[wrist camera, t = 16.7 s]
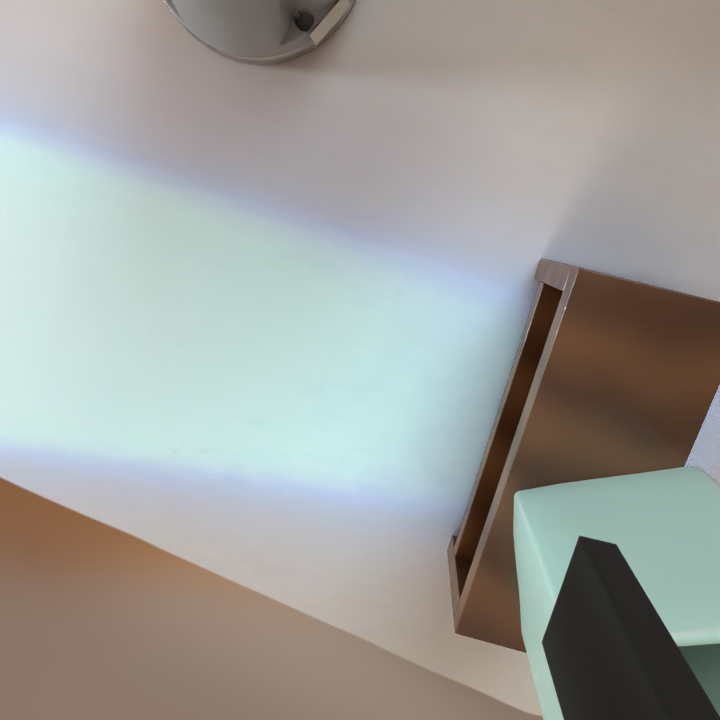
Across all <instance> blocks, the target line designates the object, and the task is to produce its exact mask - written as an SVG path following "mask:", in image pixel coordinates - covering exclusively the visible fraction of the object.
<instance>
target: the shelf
mask: <svg viewBox="0 0 720 720" xmlns="http://www.w3.org/2000/svg"><path fill="white" fill-rule="evenodd" d="M535 279H536V280H539V281H541V282H540V283H539V286H538V289H537V292H536V295H535V298H534V302H533V305H532V308H531V311H530V314H529V317H528V320H527V323H526V326H525V329H524V333H523V336H522V339H521V342H520V345H519V348H518V351H517V354H516V357H515V360H514V364H513V367H512V370H511V373H510V376H509V379H508V382H507V385H506V388H505V391H504V395H503V398H502V401H501V404H500V407H499V410H498V413H497V416H496V419H495V422H494V426H493V429H492V432H491V435H490V438H489V441H488V444H487V447H486V450H485V453H484V457H483V460H482V463H481V466H480V469H479V472H478V475H477V478H476V481H475V484H474V488H473V491H472V494H471V497H470V500H469V503H468V506H467V509H466V512H465V515H464V519H463V522H462V525H461V528H460V531H459V534H458V537H455V536H452V538H451V541H450V544H449V547H448V550H447V552H448V562H449V573H450V584H451V595H452V605H453V616H454V626H455V633H456V634H460V635H464V636H467V637H471V638H474V639H478V640H482V641H485V642H489V643H493V644H496V645H500V646H503V647H507V648H511V649H514V650H518V651H522V652H525V653H527V652H526V648H525V644H524V641H523V637H522V631H521V614H520V597H519V586H518V578H517V569H516V559H515V547H514V536H513V519H514V495H515V493H516V492H518V491H522V490H527V489H533V488H538V487H544V486H549V485H555V484H560V483H568V482H575V481H583V480H590V479H598V478H606V477H613V476H621V475H629V474H636V473H644V472H651V471H658V470H665V469H672V468H678V467H684V465H685V463H686V461H687V458H688V456H689V454H690V451H691V449H692V447H693V445H694V442H695V440H696V438H697V435H698V433H699V431H700V428H701V426H702V424H703V421H704V419H705V417H706V414H707V412H708V410H709V407H710V405H711V403H712V400H713V398H714V396H715V393H716V391H717V389H718V386H719V384H720V302H718V301H714V300H710V299H706V298H701V297H697V296H693V295H689V294H685V293H681V292H677V291H673V290H669V289H665V288H661V287H657V286H653V285H649V284H645V283H640V282H636V281H632V280H628V279H624V278H620V277H616V276H612V275H608V274H604V273H600V272H596V271H592V270H587V269H583V268H579V267H575V266H571V265H567V264H563V263H559V262H555V261H551V260H547V259H543V258H541V259H540V262H539V266H538V269H537V272H536V275H535Z"/></svg>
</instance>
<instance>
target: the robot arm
mask: <svg viewBox="0 0 720 720" xmlns="http://www.w3.org/2000/svg"><path fill="white" fill-rule="evenodd" d="M164 1H165V3H166V5H167V6H168V8H169V9H170V11H171V12H172V14H173V15H174V16H175V17H176V19H177V20H178V21H179V22H180V23H181V24H182V25H183V26H184V27H185V28H186V30H187V31H189V32H190V33H191V34H192V35H193V36H194V37H196V38H197V39H198V40H199V41H200V42H202V43H203V44H204V45H205V46H207V47H208V48H210V49H211V50H213V51H214V52H216V53H218V54H220V55H222V56H224V57H227V58H229V59H231V60H235V61H238V62H242V63H248V64H257V65H267V64H276V63H282V62H286V61H290V60H293V59H295V58H298V57H300V56H302V55H304V54H306V53H308V52H310V51H311V50H313V49H315V48H316V47H318V46H319V45H320V44H321V43H323V42H324V41H325V40H326V39H328V38H329V37H330V36H331V35H332V34H333V33H334V32H335V31H336V29H337V28H338V27H339V26H340V25H341V23H342V22H343V21H344V19H345V18H346V16H347V15H348V13H349V12H350V10H351V8H352V6H353V5H354V3H355V1H356V0H164ZM542 645H543V649H544V652H545V656H546V659H547V663H548V666H549V670H550V673H551V677H552V680H553V684H554V687H555V691H556V694H557V698H558V701H559V705H560V708H561V712H562V715H563V719H564V720H720V716H719V715H718V713H717V711H716V710H715V708H714V706H713V705H712V703H711V701H710V700H709V698H708V696H707V695H706V693H705V691H704V690H703V688H702V686H701V685H700V683H699V681H698V680H697V678H696V676H695V675H694V673H693V671H692V669H691V668H690V666H689V664H688V663H687V661H686V659H685V658H684V656H683V654H682V653H681V651H680V649H679V648H678V646H677V644H676V643H675V641H674V639H673V638H672V636H671V634H670V633H669V631H668V629H667V628H666V626H665V624H664V623H663V621H662V619H661V618H660V616H659V614H658V613H657V611H656V609H655V608H654V606H653V604H652V603H651V601H650V599H649V598H648V596H647V594H646V593H645V591H644V589H643V588H642V586H641V584H640V583H639V581H638V579H637V578H636V576H635V574H634V573H633V571H632V569H631V568H630V566H629V564H628V563H627V561H626V559H625V558H624V556H623V554H622V553H621V551H620V549H619V548H618V546H617V544H614V543H610V542H605V541H601V540H597V539H592V538H588V537H584V536H579V538H578V540H577V543H576V546H575V549H574V552H573V555H572V557H571V560H570V563H569V566H568V569H567V572H566V574H565V577H564V580H563V583H562V586H561V589H560V591H559V594H558V597H557V600H556V603H555V606H554V608H553V611H552V614H551V617H550V620H549V623H548V625H547V628H546V631H545V634H544V637H543V640H542Z"/></svg>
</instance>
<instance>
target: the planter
mask: <svg viewBox="0 0 720 720" xmlns="http://www.w3.org/2000/svg"><path fill="white" fill-rule="evenodd" d="M513 536H514V547H515V559H516V569H517V578H518V586H519V597H520V614H521V631H522V637H523V641H524V644H525V648H526V652H527V656H528V660H529V664H530V668H531V672H532V676H533V680H534V684H535V688H536V691H537V695H538V699H539V703H540V707H541V711H542V715H543V719H544V720H564V719H563V715H562V712H561V708H560V705H559V701H558V698H557V694H556V691H555V687H554V684H553V680H552V677H551V673H550V670H549V666H548V663H547V659H546V656H545V652H544V649H543V645H542V640H543V637H544V634H545V631H546V628H547V625H548V623H549V620H550V617H551V614H552V611H553V608H554V606H555V603H556V600H557V597H558V594H559V591H560V589H561V586H562V583H563V580H564V577H565V574H566V572H567V569H568V566H569V563H570V560H571V557H572V555H573V552H574V549H575V546H576V543H577V540H578V538H579V536H584V537H588V538H592V539H597V540H601V541H605V542H610V543H614V544H617V546H618V548H619V549H620V551H621V553H622V554H623V556H624V558H625V559H626V561H627V563H628V564H629V566H630V568H631V569H632V571H633V573H634V574H635V576H636V578H637V579H638V581H639V583H640V584H641V586H642V588H643V589H644V591H645V593H646V594H647V596H648V598H649V599H650V601H651V603H652V604H653V606H654V608H655V609H656V611H657V613H658V614H659V616H660V618H661V619H662V621H663V623H664V624H665V626H666V628H667V629H668V631H669V633H670V634H671V636H672V638H673V639H674V641H675V643H676V644H677V646H678V648H679V649H680V651H681V653H682V654H683V656H684V658H685V659H686V661H687V663H688V664H689V666H690V668H691V669H692V671H693V673H694V675H695V676H696V678H697V680H698V681H699V683H700V685H701V686H702V688H703V690H704V691H705V693H706V695H707V696H708V698H709V700H710V701H711V703H712V705H713V706H714V708H715V710H716V711H717V713H718V715H719V716H720V484H719V483H718V482H717V481H715V480H714V479H713V478H712V477H711V476H710V475H708V474H707V473H706V472H705V471H704V470H702V469H701V468H699V467H695V466H685V467H678V468H672V469H665V470H658V471H651V472H644V473H636V474H629V475H621V476H613V477H606V478H598V479H590V480H583V481H575V482H568V483H560V484H555V485H549V486H544V487H538V488H533V489H527V490H522V491H518V492H516V493H515V495H514V519H513Z"/></svg>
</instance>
